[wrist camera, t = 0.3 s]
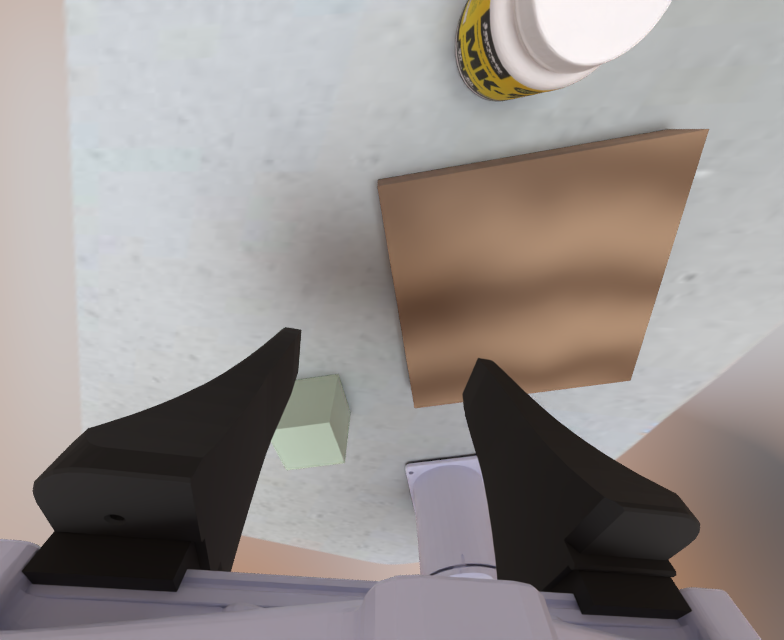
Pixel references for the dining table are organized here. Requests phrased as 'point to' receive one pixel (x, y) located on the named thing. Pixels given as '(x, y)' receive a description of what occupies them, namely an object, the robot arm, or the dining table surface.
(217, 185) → the dining table surface
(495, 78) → the supplement bottle
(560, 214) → the walnut base
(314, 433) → the sage block
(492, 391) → the robot arm
